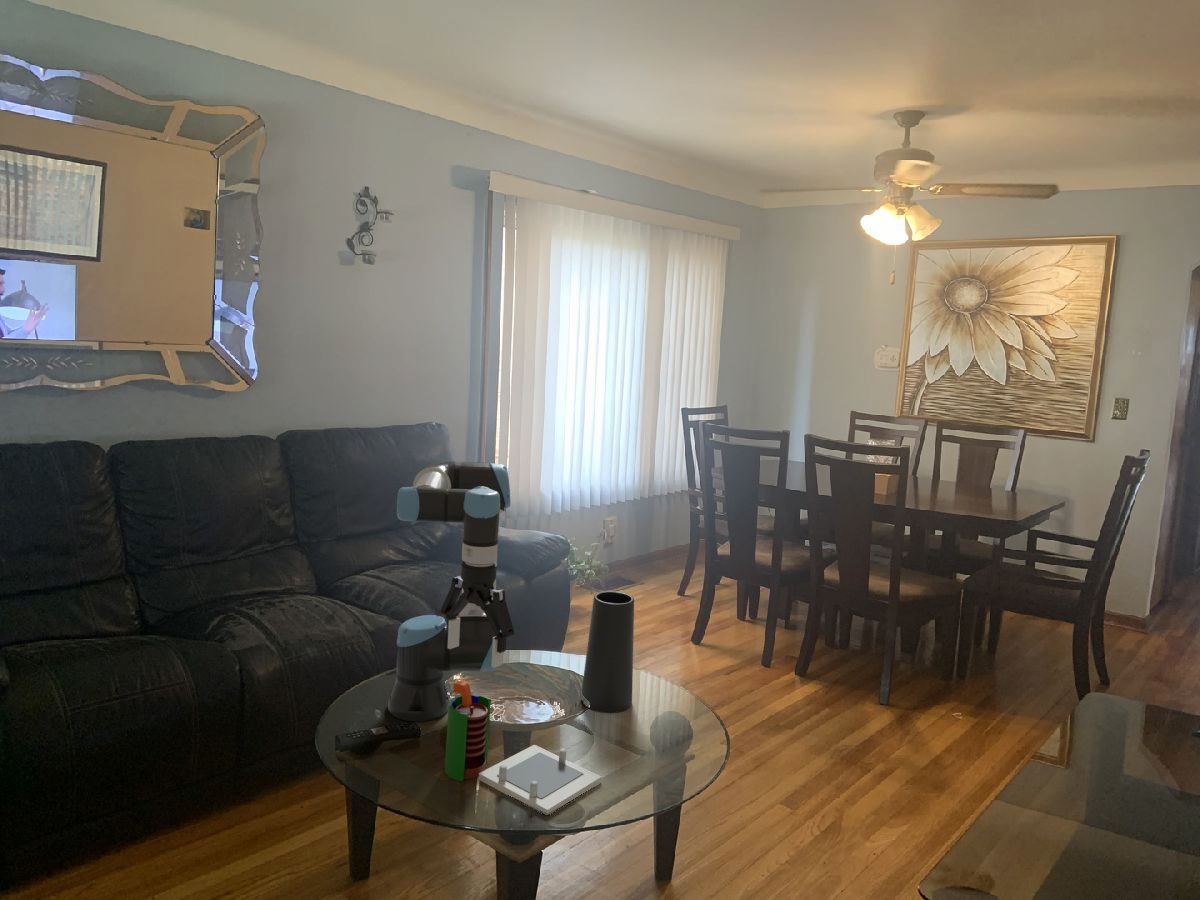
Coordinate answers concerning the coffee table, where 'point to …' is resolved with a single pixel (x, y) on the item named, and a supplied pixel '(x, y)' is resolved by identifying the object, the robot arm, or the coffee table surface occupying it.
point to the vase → (610, 653)
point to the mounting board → (540, 778)
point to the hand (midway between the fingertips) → (474, 656)
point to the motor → (467, 733)
